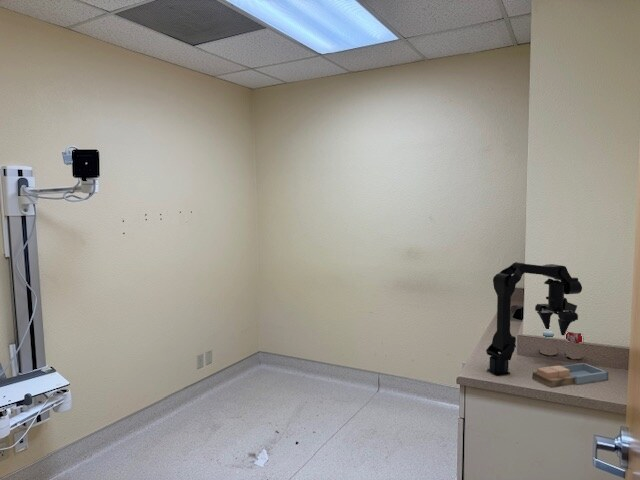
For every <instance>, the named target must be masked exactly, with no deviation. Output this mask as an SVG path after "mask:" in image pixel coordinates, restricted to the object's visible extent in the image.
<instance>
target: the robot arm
mask: <svg viewBox="0 0 640 480" xmlns="http://www.w3.org/2000/svg"><path fill="white" fill-rule="evenodd" d="M524 274H529V275H530V274H531V275H541V276H544V277H547V278H548V279H547V280H545V281H544V282H543V284H544V285H548V296H545V299H546V300H547V303H537V304H535V307H534V310H535V311H536V313H537V315H539V318H540V319H541V321H542V323H543V324H544V326H545V328H546V329H549V327H550V324H551V316H553V314H554V315H557V317H558V319H557V321H558V322H557V323H558V326H559V331H560V335H561V336H565V334H566V332H567V330H568V328H569V326H570V324H571V323H572V322H576V321H578V320H579V314H578V313H577V312H576V311H577V308H578V305H577V304H574V303H571V302H568V299H567V298H566V297H565V295H579V294H580V293H581V292H582V290H583V286H582V284H581V282H580V281H579V278H578V277H575V276H574V277H572V276H571V274H570V273H569V271H568V268H567V266H565V265H559V264H554V263H553V264H552V263H549V264H542V265H538V264H532V263H531V264H530V263H523V262H518V261H517V262H513V263H512V264H511V265H509V266H508V267H506V268H504V269H502V270H501V271H500V272H498V273H496V274H495V276H493V278H492V281H493V288H494V291H495V293H496V296H497V300H496V301H497V304H496V306H497V307H496V310H497V311H496V332H494V334H493V336H492V339H491V340H492V342H491V343H490V344H489V346H488V347H487V348H486V354H487V356H489V368H487V369H486V371H487V372H489V373H491V374H492V375H495V376H497V377H500V376H506V375H511V372H510V371H509V361H511V359H512V356H513V353H514V352H515V350H516V349H515V348H517V346H516V345H517V344H516V340H517V338H516V336H514V335H512V334H511V306H512V305H511V301H512V295H513V294H514V293H515V291H516V286H517V284H518V283H519V282H520V281H521V280H522V277H523V275H524Z"/></svg>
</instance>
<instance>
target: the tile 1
mask: <svg viewBox="0 0 640 480" xmlns="http://www.w3.org/2000/svg"><path fill="white" fill-rule="evenodd" d="M549 367H550V366H545V367H539V368H537V369H536V372H537V374H538V375H540V376H542V377H544V378H546V379H550V378H557V377H558V371H556V370H554V369H551V368H549Z"/></svg>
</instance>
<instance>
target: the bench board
mask: <svg viewBox="0 0 640 480" xmlns="http://www.w3.org/2000/svg"><path fill="white" fill-rule="evenodd" d="M532 379H533V381H536V382H537V383H541V384H543V385H544V386H546V387H549V388H557V387H562V386H563V387H564V386H569V385H576V384H575V377H573V376H563V377H557V378H550V379H546V378H544V377H542V376H540V375H538V374H537V371H533V372H532Z"/></svg>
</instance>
